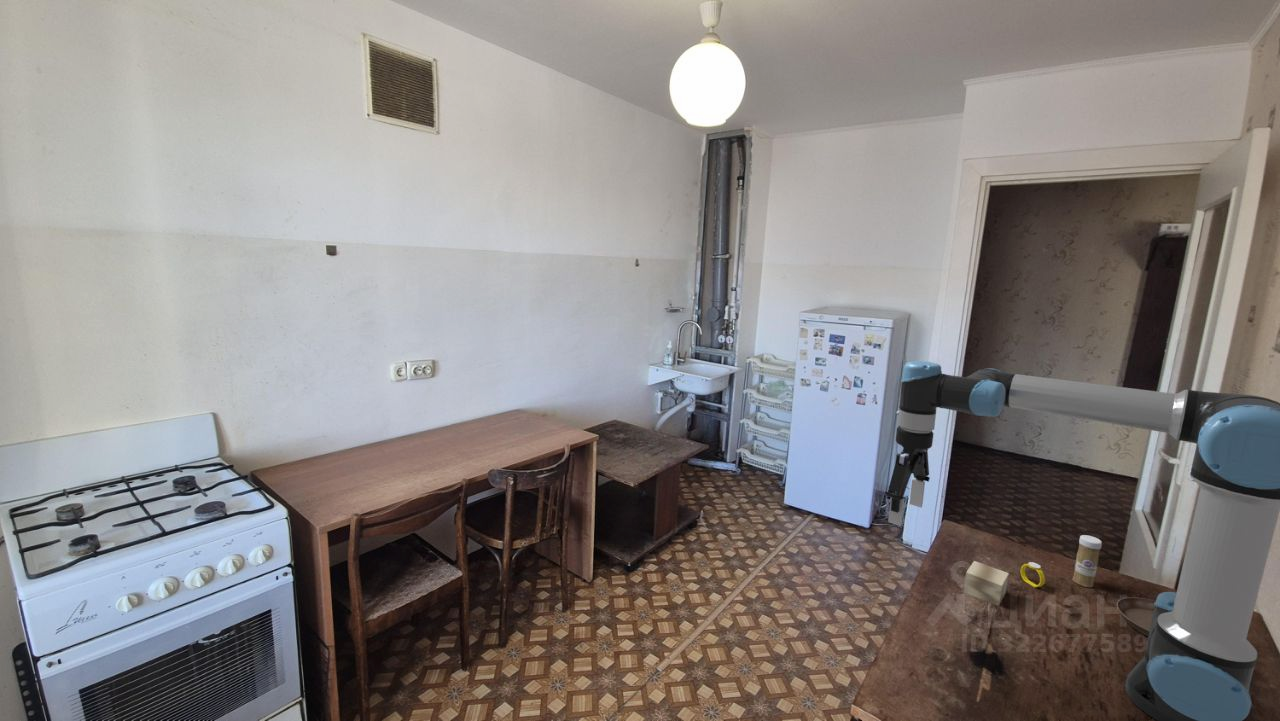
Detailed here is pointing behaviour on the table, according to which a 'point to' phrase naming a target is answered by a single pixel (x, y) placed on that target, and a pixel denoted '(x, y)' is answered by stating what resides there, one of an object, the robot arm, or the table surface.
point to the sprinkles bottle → (1087, 560)
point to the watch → (1035, 567)
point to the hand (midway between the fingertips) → (905, 514)
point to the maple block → (986, 583)
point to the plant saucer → (1137, 613)
